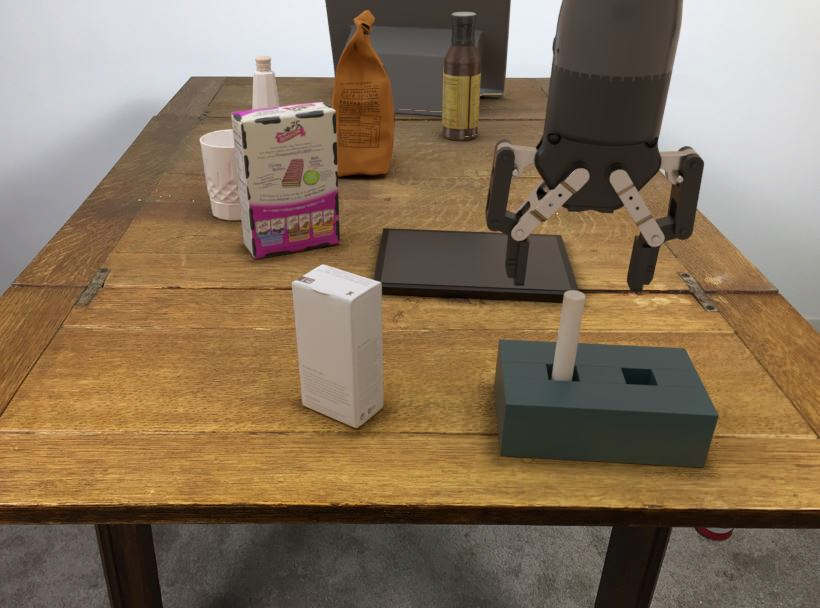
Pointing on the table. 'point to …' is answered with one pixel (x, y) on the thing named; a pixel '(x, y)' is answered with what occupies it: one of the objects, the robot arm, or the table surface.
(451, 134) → the sauce bottle
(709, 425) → the pen stand
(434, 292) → the tablet
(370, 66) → the coffee package
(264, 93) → the salt shaker
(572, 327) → the stylus
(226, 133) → the white cup
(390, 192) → the table surface
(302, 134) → the candy bar box
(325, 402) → the cosmetic box
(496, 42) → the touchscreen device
